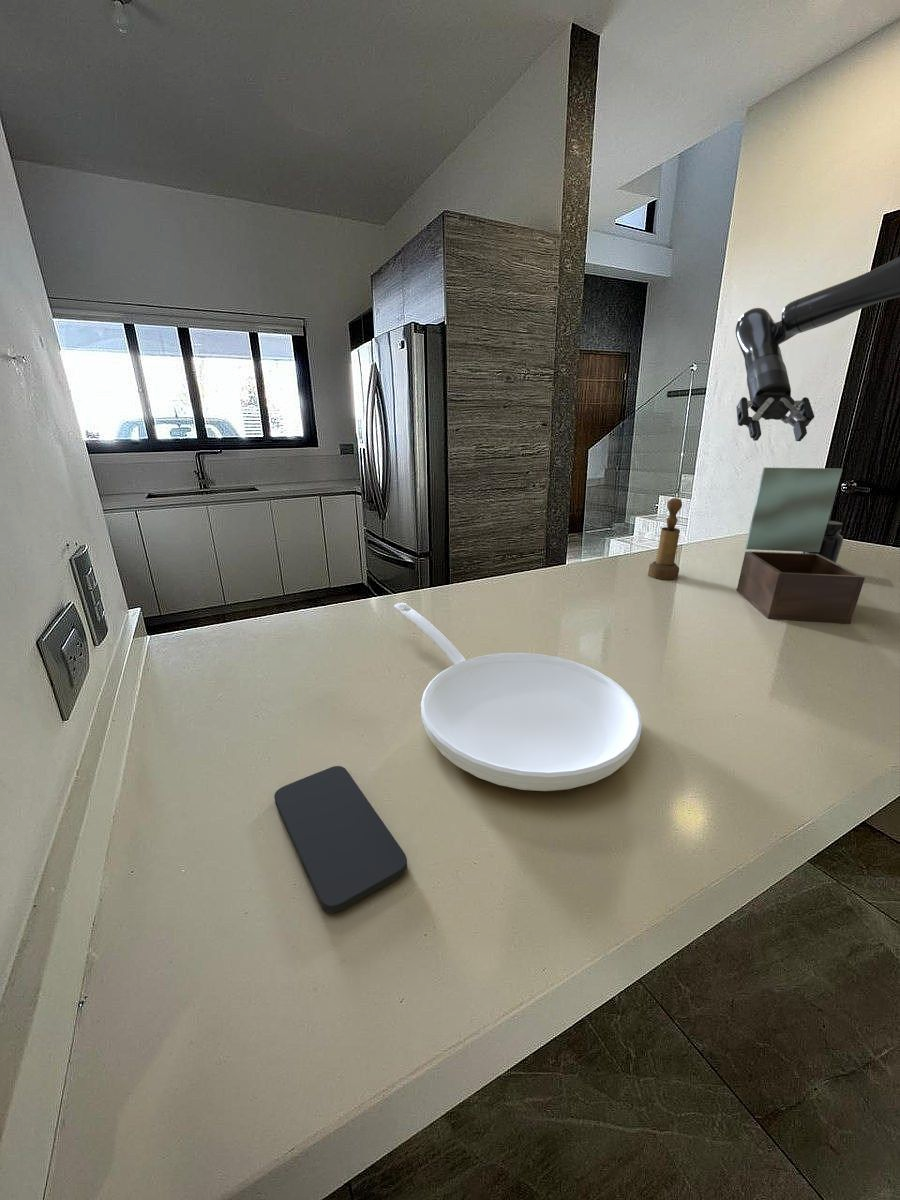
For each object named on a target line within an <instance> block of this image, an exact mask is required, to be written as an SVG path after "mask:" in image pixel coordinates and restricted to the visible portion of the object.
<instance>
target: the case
mask: <svg viewBox="0 0 900 1200" xmlns="http://www.w3.org/2000/svg"><path fill="white" fill-rule="evenodd" d="M865 580H866V577H865V576H863V575H861V574H859V573H857V572H855V571H853V570H851V569H849V568H847V567H846V566H843V565H841V564H839V563H837V562H836V563H835V562H833V561H831V560H829V559H827V558H825V557H823V556H821V555H819V554H808V553H803V552H784V551H781V552H780V551H760V550H745V551H744V556H743V560H742V565H741V569H740V574H739V578H738V582H737V586H736V592H737V593H738V594H739V595H740V596H742V597H743V598H744V599H745V600H746V601H747V602H749V603H750V604H751V605H752V606H753V607H754V608H755V609H756V610H758V611H759V613H761V615H763V616H764V617H765V618H766V619H769V620H784V621H798V622H799V621H801V622H815V623H816V622H817V623H818V622H819V623H830V624H831V623H832V624H851V623H852V619H853V617H854V613H855V610H856V607H857V604H858V602H859V597H860V595H861V591H862V589H863V587H864V586H863V585H864V583H865Z"/></svg>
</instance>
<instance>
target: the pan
mask: <svg viewBox="0 0 900 1200" xmlns="http://www.w3.org/2000/svg"><path fill="white" fill-rule="evenodd" d="M392 608H393V609H394V610H395V611H396V612H398V613H400V614H401V615H402V616H403V617H404V618H406V619H407V620H409V622H410V623H412V624H413V625H414V626H416V627H417V628H418V629H419V630H420V631H421V632H422V633H423V634H425V635H426V637H428V638H429V639H430V640H431V641H432V642H433V643H434V645H436V646H437V647H438V648H439V649H440V650H441V651H442V652H443V654H444V655H445V656H446V657H447V658H448V660H449V661H450V662H451V663H452V665H451V666H449V667H447V668H445V669H444V670H442V671H441V672H439V673H438V674H437V675H436V676H435V677H433V679H431V680H430V681H429V683H428V685H427V686H426V688H425V690H424V691H423V694H422V698H421V701H420V710H421V720H422V725H423V727H424V729H425V731H426V734H427V736H428V739H429V740H430V741H431V742H432V744H433V745H434V747H436V749H437V750H438V751H439V753H441V755H442V756H444V758H446V759H447V760H448V761H450V762H451V763H453V764H454V766H456V767H458V768H460V769H462V770H463V771H465V772H466V773H469V774H470V775H473V776H474V777H476V778H478V779H481V780H484V781H487V782H488V783H492V784H495V785H498V786H501V787H502V786H503V787H507V788H512V789H517V790H521V791H534V792H535V791H536V792H537V791H538V792H553V791H564V790H571V789H576V788H579V787H583V786H587V785H590V784H594V783H596V782H598V781H600V780H603V779H605V778H607V777H609V776H611V775H612V774H614V772H617V770H619V769H620V768H621V767H623V766H624V765H625V764H626V763H627V762H628V761H629V760H630V758H631V757H632V755H633V754H634V753H635V751H636V750H637V747H638V745H639V742H640V738H641V734H642V730H643V722H642V715H641V712H640V709H639V708H638V705H637V704H636V701H635V700H634V699H633V697H632V696H631V695H630V694H629V693H628V691H627V690H626V689H625V688H623V687H622V686H621V685H620V684H619V683H617V682H616V681H615V680H613V679H612V678H610V677H608V676H607V675H605V674H603V673H601V672H600V671H598V670H596V669H594V668H592V667H589V666H587V665H584V664H582V663H579V662H576V661H573V660H569V659H567V658H564V657H558V656H554V655H549V654H540V653H534V652H533V653H532V652H499V653H497V652H496V653H492V654H491V653H490V654H484V655H480V656H476V657H471V658H468V659H466V657H464V656H463V655H462V654H461V652H460V651H459V650H458V649H457V648H456V646H455V645H454V644H453V643H452V642H451V640H449V639H448V638H447V637H446V636H445V635H444V634H443V633H442V632H441V631H440V630H439V629H438V628H437V627H436V626H435V625H433V623H431V621H429V620H428V619H427V618H426V617H424V616H423V615H421V614H420V613H419V612H418V611H416V610H415V609H413V608H412V607H411V606H409V605H408V604H407V603H405V602H398V603H396V604H394V605H393V607H392Z"/></svg>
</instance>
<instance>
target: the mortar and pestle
mask: <svg viewBox="0 0 900 1200" xmlns="http://www.w3.org/2000/svg"><path fill="white" fill-rule="evenodd" d="M666 507H667V510H668V512H669V513H668V514H669V515H668V517H667V518H666V526H664V527H661V529H660V535H659V541H658V546H657V547H658V548H657V553H656V559H655V560H653V562H651V563H650V564H649V566H648V570H647V575H648V576H649V577H651V578H654V579H657V580H661V581H662V580H663V581H673V580H676V579H678V578H679V573H680V567H679V566H678V565H677V563H675V560H676V554H677V550H678V549H677V548H678V545H679V538H680V533H681V530H680V529H679V528H677V527H676V525H677V523H678V521H679V520H678V517H677V514H678V513H679V511H680V510H681V509H682V507H683V501H682V500H681V499H680V498H678V497H672V498H670V499H669V500H668V501H667V504H666Z"/></svg>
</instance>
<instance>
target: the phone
mask: <svg viewBox="0 0 900 1200" xmlns="http://www.w3.org/2000/svg"><path fill="white" fill-rule="evenodd" d="M273 798H274V802H275V806H276V808H277V811H278V813H279V815H280V818H281V819H282V822H283V825H284V826H285V829H286V831H287V833H288V835H289V837H290V840H291V842H292V844H293V847H294V849H295V852H296V854H297V856H298V858H299V860H300V862H301V865H302V867H303V870H304V872H305V874H306V876H307V878H308V880H309V883H310V885H311V887H312V890H313V891H314V894H315V896H316V898H317V901H318V903H319V905H320V906H321V908H322V909H323V910H324V911H326V912H327V913H338V912H341V911H342V910H343V911H344V909H346V908H348V907H350V906H351V905H353V904H355V903H358V902H359V901H360V900H363V899H364V898H366V897H367V896H369V895H371V894H373V893H375V892H376V891H378V890H380V889H382V888H383V887H385V886H387V885H389V884H390V883H392V882H394V881H395V880H397V879H399V878H400V877H401V876H403V875H404V874H405V873H406V871H407V869H408V858H407V855H406V853H405V852H404V850H403V848H402V847H401V846H400V844H399V843H398V842H397V840H396V838H395V837H394V836H393V834H392V833H391V832H390V831H391V830H389V829H388V827H387V825H386V824H385V822H384V821H383V820H382V818H381V817H380V816H379V814H378V813H377V811H376V810H375V808H374V807H373V806H372V804H371V803H370V801H369V799H368V798H367V797H366V795H365V794H364V793H363V791H362V790H361V789H360V787H359V785H358V784H357V783H356V781H355V780H354V779H353V777H352V775H351V774H350V772H349V771H348V770H347V768H345V766H341V765H333V766H330V767H328V768H325V769H323V770H320V771H318V772H316V773H313V774H310V775H308V776H306V777H303V778H300V779H298V780H296V781H293V782H290V783H288V784H285V785H283V786H282V787H280V788H278V789H277V790H276V791H275V792H274V797H273Z"/></svg>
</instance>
